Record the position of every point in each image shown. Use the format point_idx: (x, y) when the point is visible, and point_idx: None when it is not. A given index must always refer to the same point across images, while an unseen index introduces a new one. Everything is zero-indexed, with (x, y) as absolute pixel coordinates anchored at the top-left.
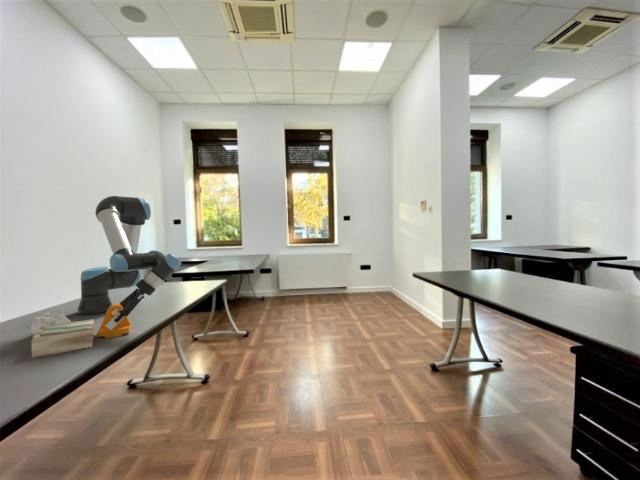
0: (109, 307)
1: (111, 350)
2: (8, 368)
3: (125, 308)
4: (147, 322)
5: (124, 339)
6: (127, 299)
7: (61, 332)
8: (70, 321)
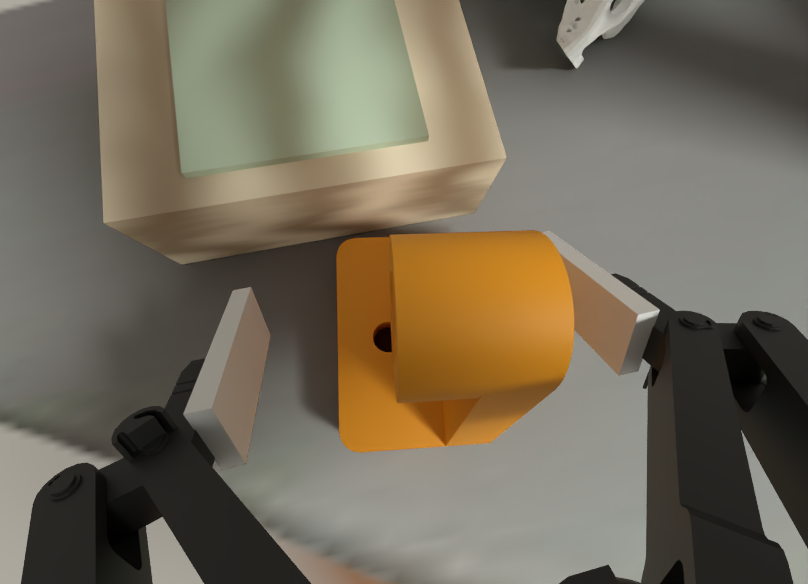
0: (443, 243)
1: (32, 394)
2: (64, 2)
3: (42, 548)
4: (635, 532)
5: None
6: (672, 470)
7: (172, 39)
8: (590, 27)
